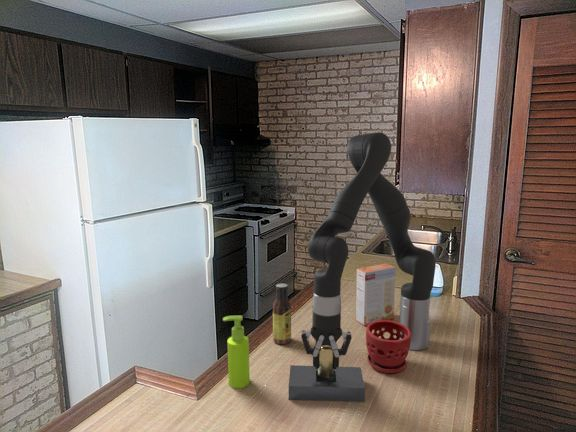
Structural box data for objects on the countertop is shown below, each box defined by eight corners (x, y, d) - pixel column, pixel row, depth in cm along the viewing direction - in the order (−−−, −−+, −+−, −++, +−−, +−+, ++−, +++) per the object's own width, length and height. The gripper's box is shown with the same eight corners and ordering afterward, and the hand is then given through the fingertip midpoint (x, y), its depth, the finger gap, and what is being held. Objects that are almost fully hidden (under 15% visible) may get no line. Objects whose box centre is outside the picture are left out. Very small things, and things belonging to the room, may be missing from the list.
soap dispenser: (225, 377, 120) (223, 312, 116) (249, 375, 121) (248, 311, 117) (224, 389, 114) (222, 321, 111) (249, 387, 115) (247, 320, 111)
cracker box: (384, 313, 163) (386, 262, 159) (394, 319, 157) (396, 267, 153) (354, 320, 157) (356, 267, 153) (364, 326, 152) (365, 272, 148)
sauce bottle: (289, 346, 138) (288, 289, 134) (270, 344, 139) (270, 288, 135) (292, 337, 144) (292, 282, 140) (275, 335, 145) (274, 281, 141)
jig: (360, 379, 118) (360, 367, 118) (364, 401, 109) (364, 388, 108) (290, 377, 120) (290, 365, 119) (288, 399, 110) (288, 385, 109)
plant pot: (356, 363, 127) (357, 327, 125) (384, 350, 135) (385, 316, 133) (390, 383, 117) (391, 344, 115) (418, 367, 125) (420, 330, 122)
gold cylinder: (333, 369, 115) (333, 342, 114) (334, 378, 111) (334, 350, 109) (317, 368, 116) (317, 342, 114) (317, 377, 111) (318, 350, 110)
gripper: (352, 303, 113) (350, 361, 116) (300, 302, 114) (299, 359, 117) (355, 315, 106) (353, 376, 109) (299, 314, 106) (299, 374, 110)
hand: (325, 367), depth 113 cm, fingers closed on gold cylinder, 4 cm apart
